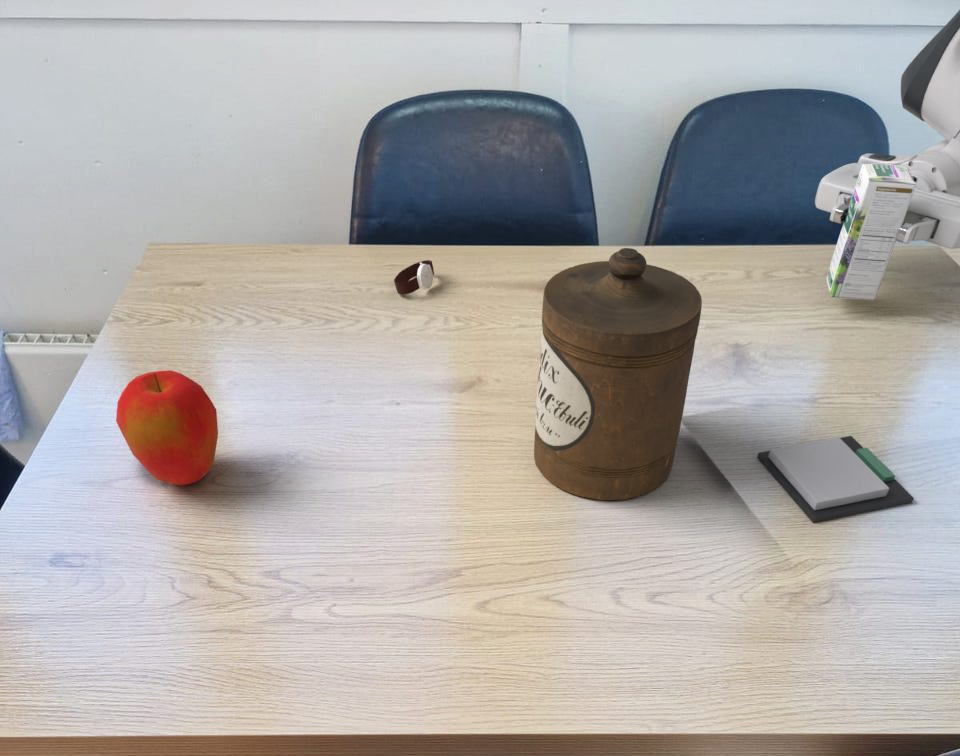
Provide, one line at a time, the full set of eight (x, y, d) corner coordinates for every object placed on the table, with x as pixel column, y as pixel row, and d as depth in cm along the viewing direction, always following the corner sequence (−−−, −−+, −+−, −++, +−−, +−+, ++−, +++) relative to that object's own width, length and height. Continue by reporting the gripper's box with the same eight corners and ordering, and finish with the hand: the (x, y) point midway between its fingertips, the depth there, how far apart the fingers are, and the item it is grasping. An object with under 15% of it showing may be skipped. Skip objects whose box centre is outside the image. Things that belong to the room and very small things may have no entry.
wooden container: (524, 422, 97) (535, 220, 80) (654, 416, 98) (690, 215, 81) (543, 505, 87) (559, 294, 71) (687, 498, 88) (736, 288, 72)
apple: (121, 491, 88) (81, 387, 79) (173, 443, 94) (142, 341, 85) (198, 513, 86) (167, 408, 77) (247, 463, 91) (223, 359, 82)
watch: (416, 302, 116) (415, 276, 113) (386, 295, 117) (384, 268, 114) (442, 279, 120) (442, 252, 118) (413, 272, 122) (411, 246, 119)
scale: (844, 454, 93) (854, 427, 91) (905, 517, 86) (918, 489, 83) (752, 471, 91) (760, 444, 88) (808, 537, 84) (818, 510, 81)
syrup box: (824, 278, 116) (859, 161, 105) (869, 281, 115) (909, 164, 105) (830, 298, 112) (866, 179, 101) (877, 301, 112) (919, 181, 101)
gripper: (985, 241, 111) (939, 276, 105) (839, 199, 121) (789, 228, 114) (1007, 189, 107) (961, 222, 100) (854, 149, 116) (802, 177, 109)
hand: (868, 225), depth 107 cm, fingers closed on syrup box, 7 cm apart
